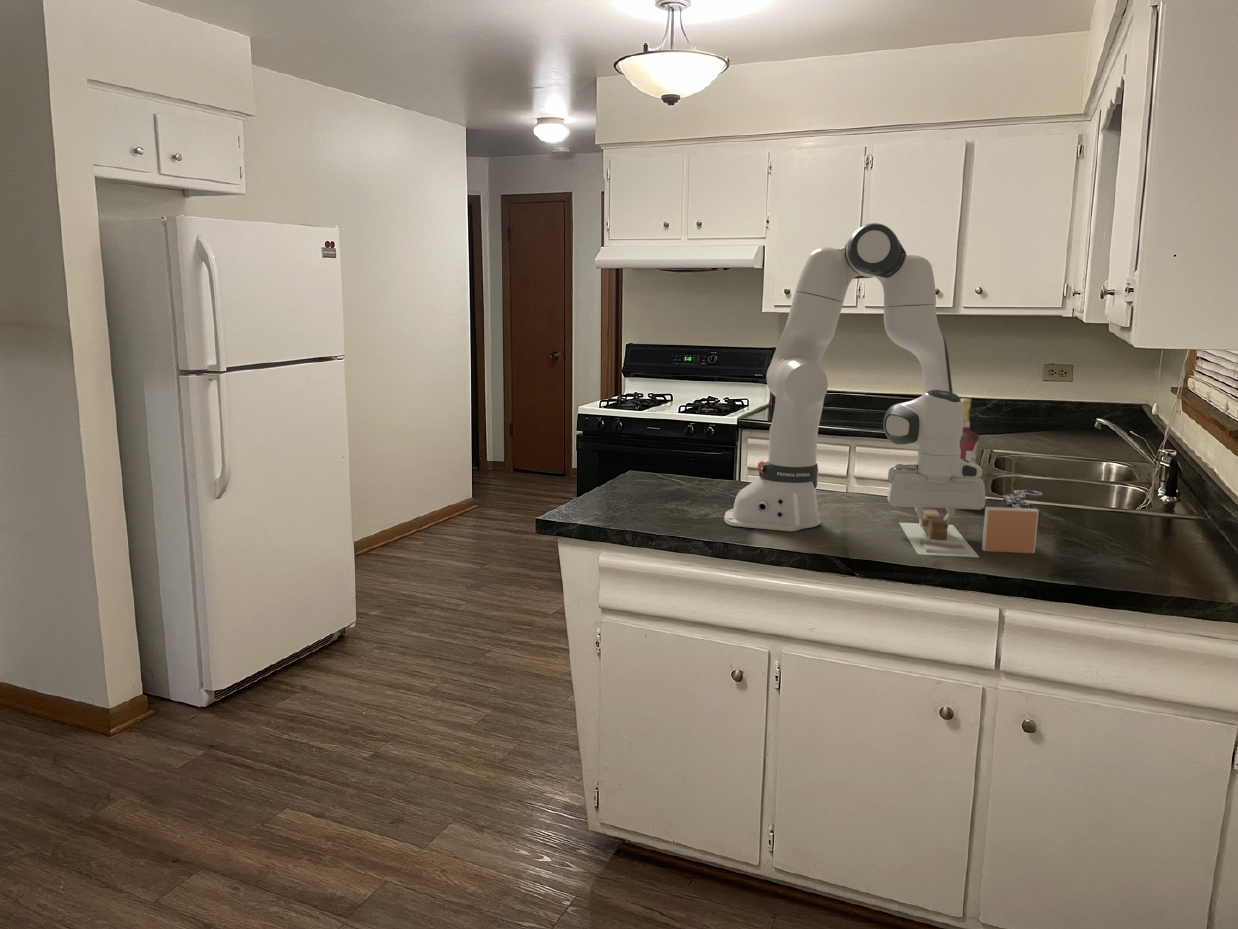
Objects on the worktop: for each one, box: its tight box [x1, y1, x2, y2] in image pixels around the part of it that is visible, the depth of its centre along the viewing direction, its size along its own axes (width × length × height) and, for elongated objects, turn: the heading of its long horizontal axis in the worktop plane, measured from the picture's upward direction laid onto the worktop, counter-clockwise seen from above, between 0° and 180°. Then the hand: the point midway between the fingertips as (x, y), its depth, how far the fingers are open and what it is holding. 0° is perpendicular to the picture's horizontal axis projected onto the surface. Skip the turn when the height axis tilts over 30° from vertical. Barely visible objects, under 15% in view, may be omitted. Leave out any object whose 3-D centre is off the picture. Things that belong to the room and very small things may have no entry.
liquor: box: [960, 397, 980, 464], centre depth 222 cm, size 7×7×28 cm
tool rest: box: [898, 522, 980, 558], centre depth 194 cm, size 12×26×1 cm, turn 171°
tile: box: [981, 506, 1040, 554], centre depth 184 cm, size 10×2×10 cm, turn 81°
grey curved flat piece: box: [1002, 489, 1043, 509], centre depth 233 cm, size 28×2×10 cm
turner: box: [920, 508, 967, 554], centre depth 194 cm, size 22×8×4 cm, turn 171°
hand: (933, 526), depth 198 cm, fingers closed on turner, 3 cm apart
